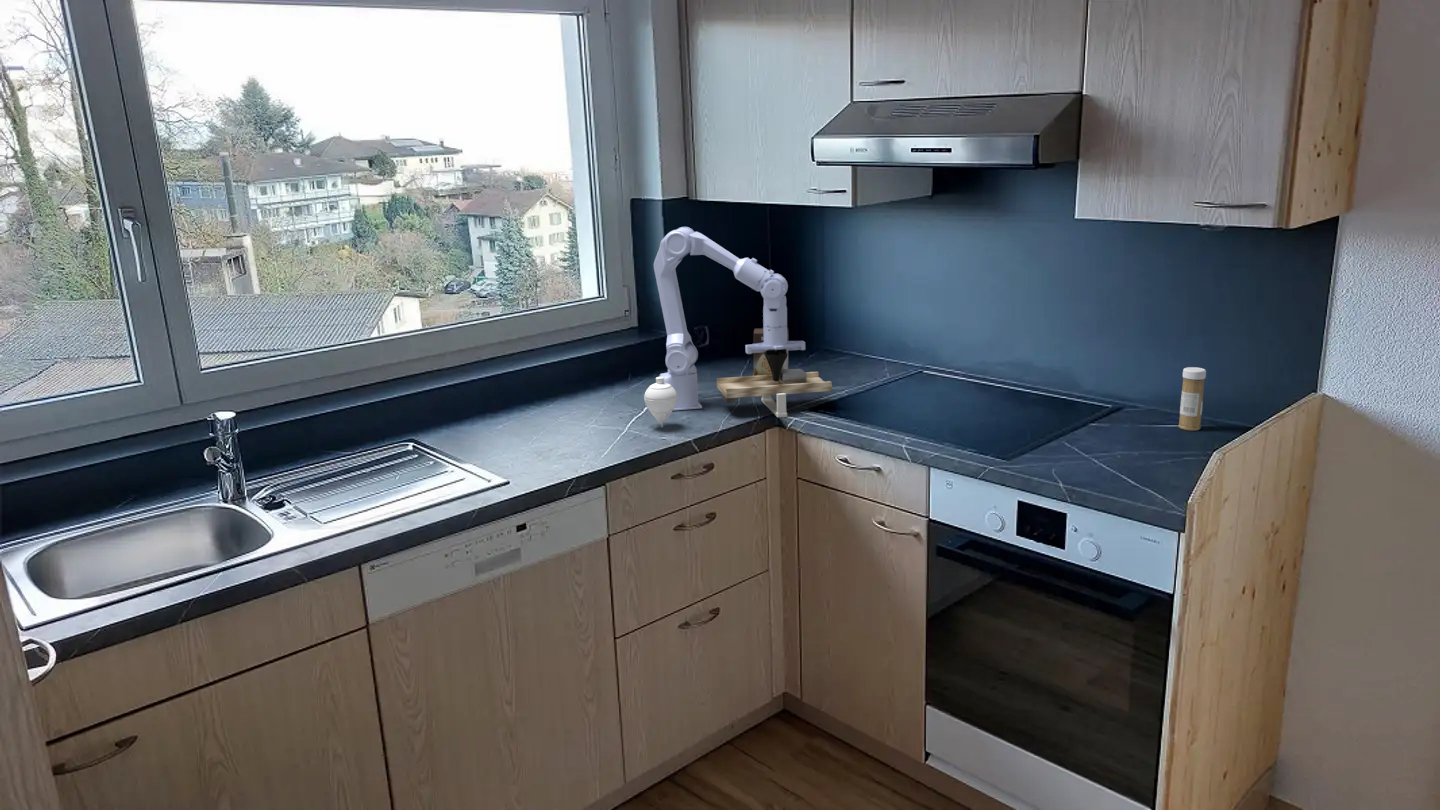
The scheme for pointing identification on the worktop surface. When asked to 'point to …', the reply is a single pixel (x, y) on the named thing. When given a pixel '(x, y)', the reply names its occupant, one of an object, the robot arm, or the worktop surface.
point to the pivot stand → (776, 404)
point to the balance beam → (767, 386)
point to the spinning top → (660, 399)
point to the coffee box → (763, 356)
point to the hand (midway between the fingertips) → (775, 380)
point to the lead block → (792, 376)
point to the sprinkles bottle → (1192, 398)
